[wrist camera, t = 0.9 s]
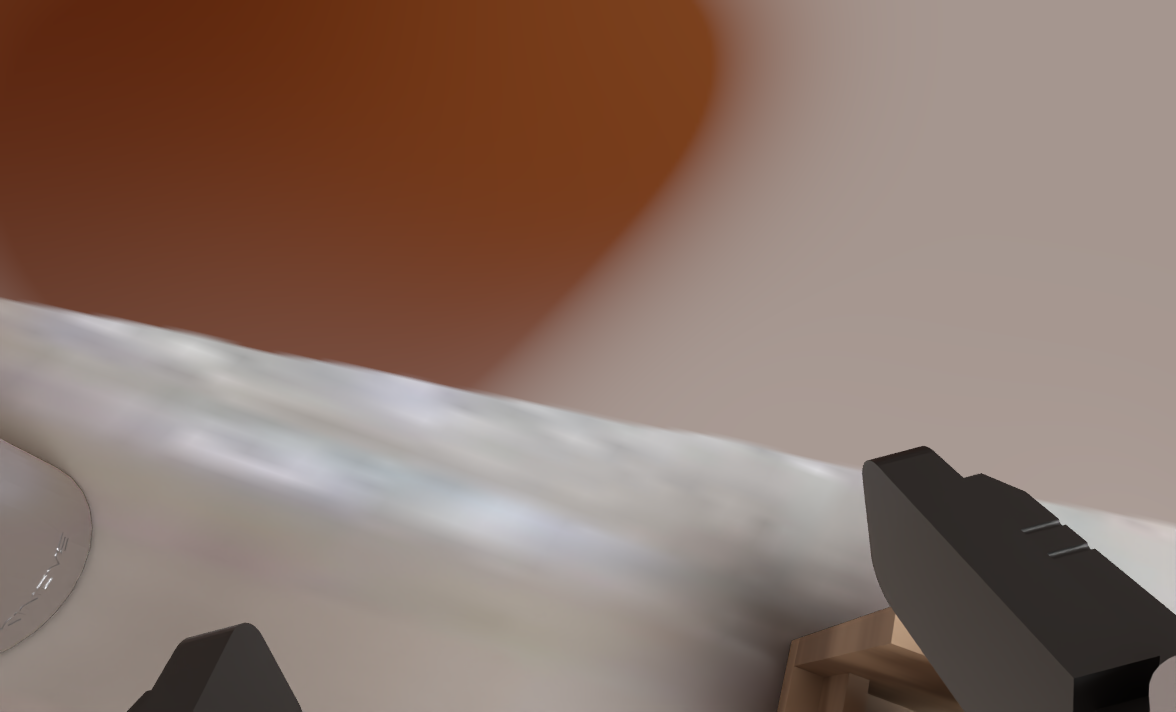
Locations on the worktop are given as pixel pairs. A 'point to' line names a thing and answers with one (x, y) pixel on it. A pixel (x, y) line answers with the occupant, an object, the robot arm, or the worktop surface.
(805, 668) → the rack
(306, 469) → the worktop surface
